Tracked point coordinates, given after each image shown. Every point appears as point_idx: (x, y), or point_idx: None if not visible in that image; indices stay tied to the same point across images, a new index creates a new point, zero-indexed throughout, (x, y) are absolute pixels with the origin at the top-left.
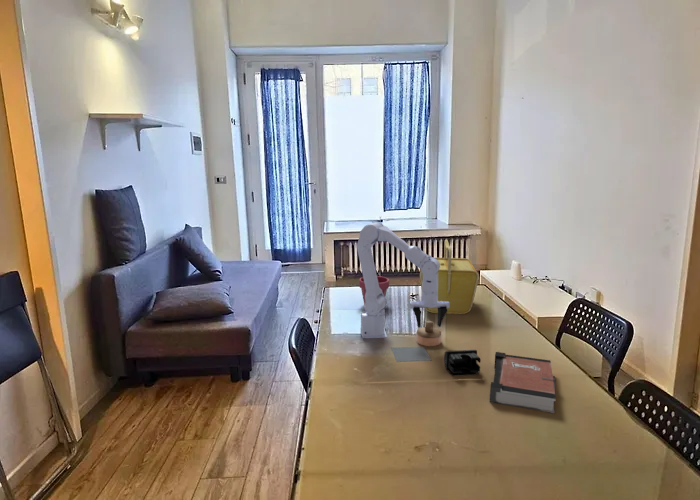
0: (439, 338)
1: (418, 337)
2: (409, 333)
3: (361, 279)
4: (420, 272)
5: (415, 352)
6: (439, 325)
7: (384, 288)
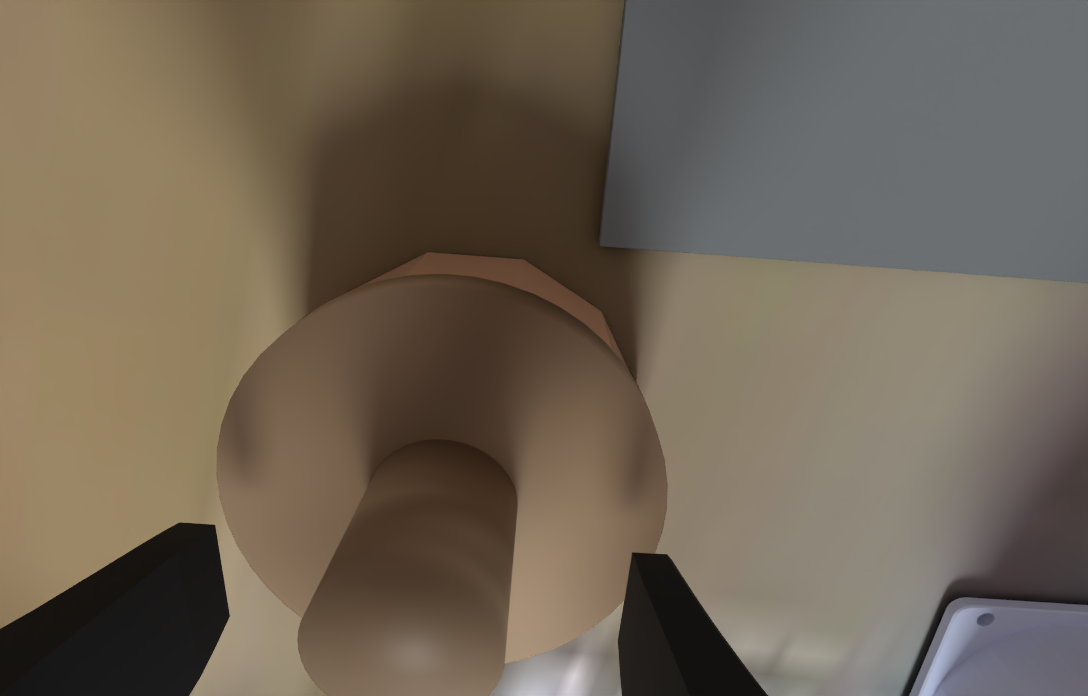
0: None
1: None
2: (620, 677)
3: None
4: None
5: (822, 15)
6: (182, 539)
7: None
